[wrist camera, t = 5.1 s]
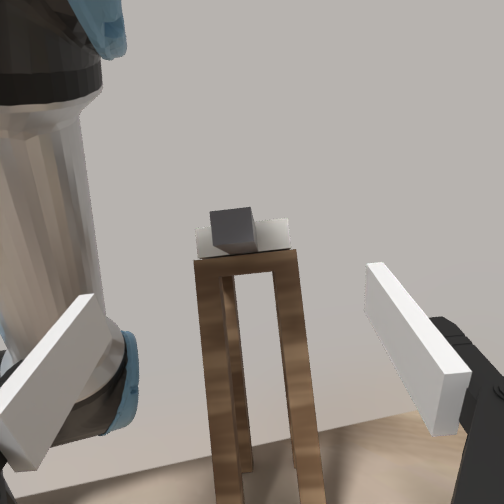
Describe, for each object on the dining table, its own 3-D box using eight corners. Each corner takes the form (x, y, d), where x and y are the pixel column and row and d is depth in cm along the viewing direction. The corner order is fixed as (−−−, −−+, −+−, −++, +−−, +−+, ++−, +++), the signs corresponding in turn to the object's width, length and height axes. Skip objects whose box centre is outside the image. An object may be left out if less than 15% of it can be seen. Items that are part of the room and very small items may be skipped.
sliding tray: (302, 235, 23) (297, 191, 23) (165, 251, 23) (161, 207, 23) (283, 255, 50) (281, 235, 50) (219, 262, 50) (217, 242, 50)
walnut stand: (331, 549, 32) (296, 249, 34) (221, 557, 32) (193, 260, 34) (309, 456, 48) (286, 256, 50) (236, 463, 48) (216, 264, 50)
